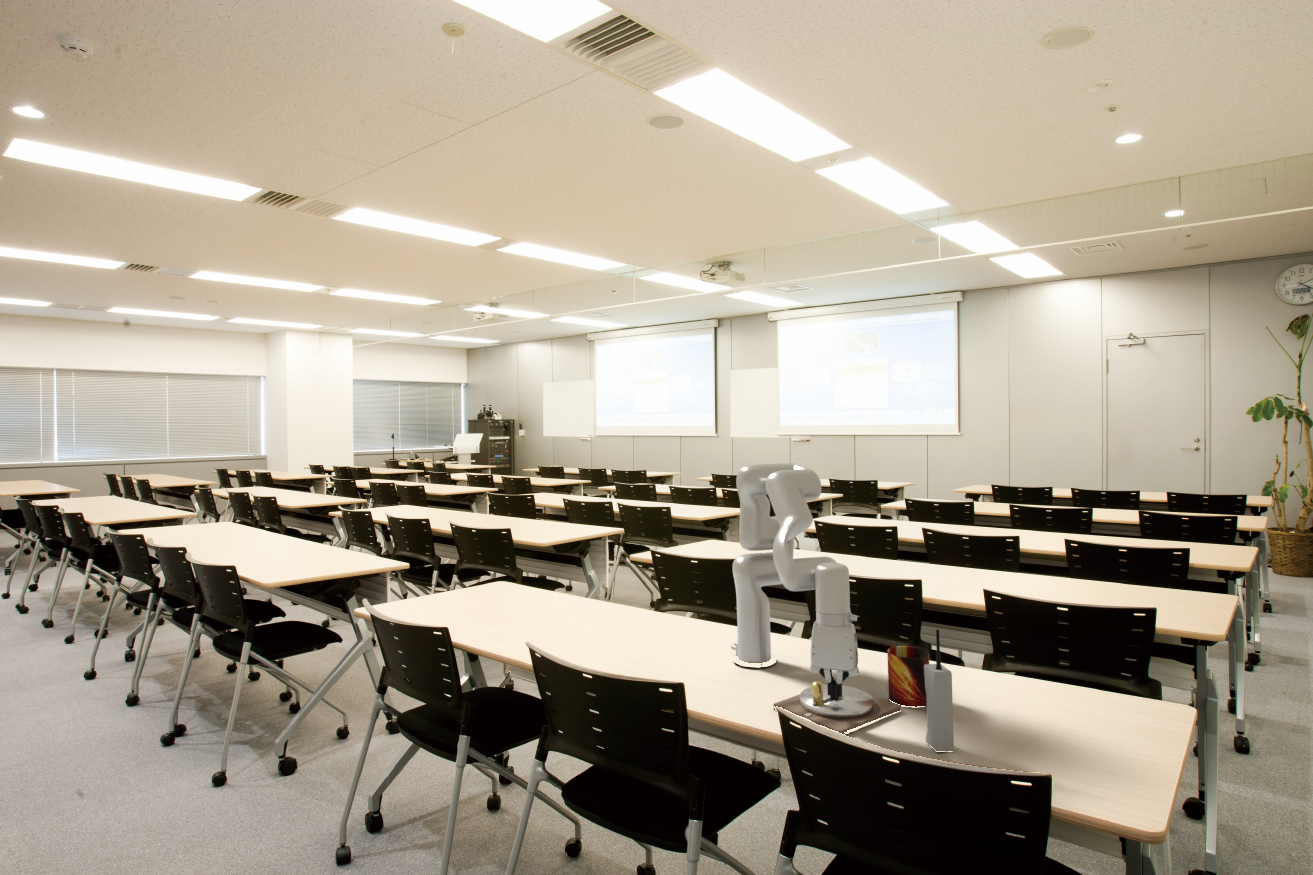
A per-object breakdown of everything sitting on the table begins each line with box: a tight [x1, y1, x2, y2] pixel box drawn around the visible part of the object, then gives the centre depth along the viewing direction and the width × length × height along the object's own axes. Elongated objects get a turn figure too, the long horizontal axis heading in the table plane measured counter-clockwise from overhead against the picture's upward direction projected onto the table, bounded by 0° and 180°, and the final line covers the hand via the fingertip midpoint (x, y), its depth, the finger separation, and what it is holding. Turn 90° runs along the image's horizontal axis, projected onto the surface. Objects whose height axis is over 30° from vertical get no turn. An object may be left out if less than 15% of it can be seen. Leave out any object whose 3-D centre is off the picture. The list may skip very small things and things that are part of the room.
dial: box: [799, 680, 874, 718], centre depth 163 cm, size 17×17×6 cm
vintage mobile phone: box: [924, 629, 955, 752], centre depth 143 cm, size 4×5×25 cm
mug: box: [887, 645, 930, 707], centre depth 167 cm, size 10×14×12 cm
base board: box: [773, 693, 902, 736], centre depth 163 cm, size 20×22×2 cm
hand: (835, 698), depth 155 cm, fingers closed
